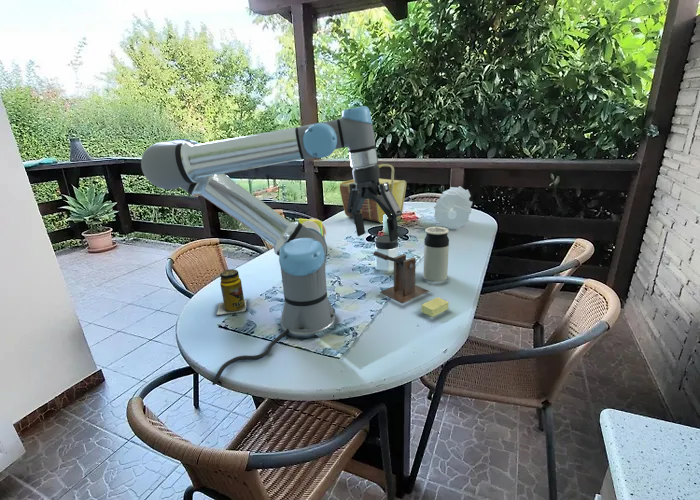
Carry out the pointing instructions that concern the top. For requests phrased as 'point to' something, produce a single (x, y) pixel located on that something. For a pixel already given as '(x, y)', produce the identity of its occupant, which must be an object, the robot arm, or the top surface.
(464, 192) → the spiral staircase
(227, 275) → the condiment
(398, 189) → the picnic basket
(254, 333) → the top surface
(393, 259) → the lever
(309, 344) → the top surface
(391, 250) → the jar
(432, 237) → the travel mug
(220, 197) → the robot arm
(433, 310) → the butter
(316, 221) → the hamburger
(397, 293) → the wooden lever stand
